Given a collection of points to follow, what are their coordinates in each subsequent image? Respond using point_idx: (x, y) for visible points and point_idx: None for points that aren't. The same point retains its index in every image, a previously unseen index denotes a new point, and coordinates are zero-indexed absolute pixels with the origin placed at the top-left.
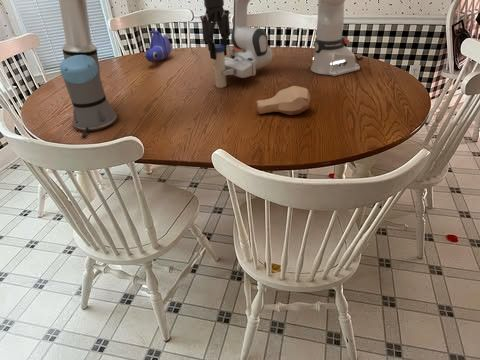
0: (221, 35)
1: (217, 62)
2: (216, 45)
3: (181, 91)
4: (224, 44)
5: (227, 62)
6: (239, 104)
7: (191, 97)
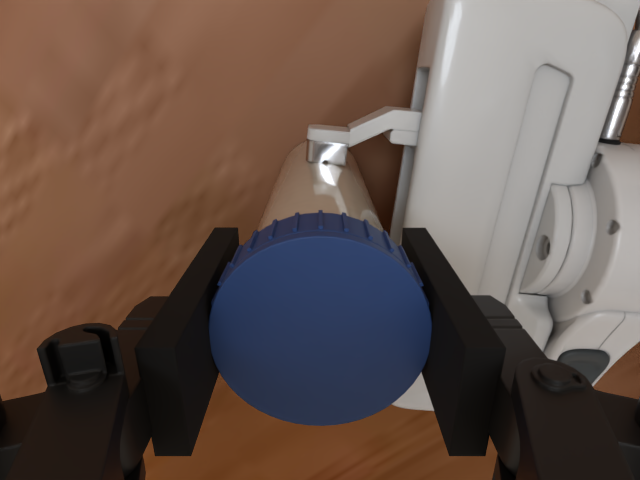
0: (519, 424)
1: None
2: (337, 295)
3: (40, 7)
4: (427, 387)
5: (469, 185)
6: (204, 427)
7: (50, 167)
